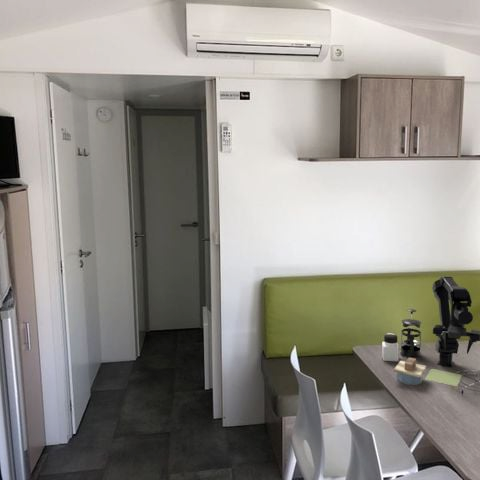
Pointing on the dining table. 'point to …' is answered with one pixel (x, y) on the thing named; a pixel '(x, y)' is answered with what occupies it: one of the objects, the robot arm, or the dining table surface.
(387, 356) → the medicine bottle
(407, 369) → the lid
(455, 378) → the mat
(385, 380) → the dining table surface
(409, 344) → the french press
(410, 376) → the bowl
